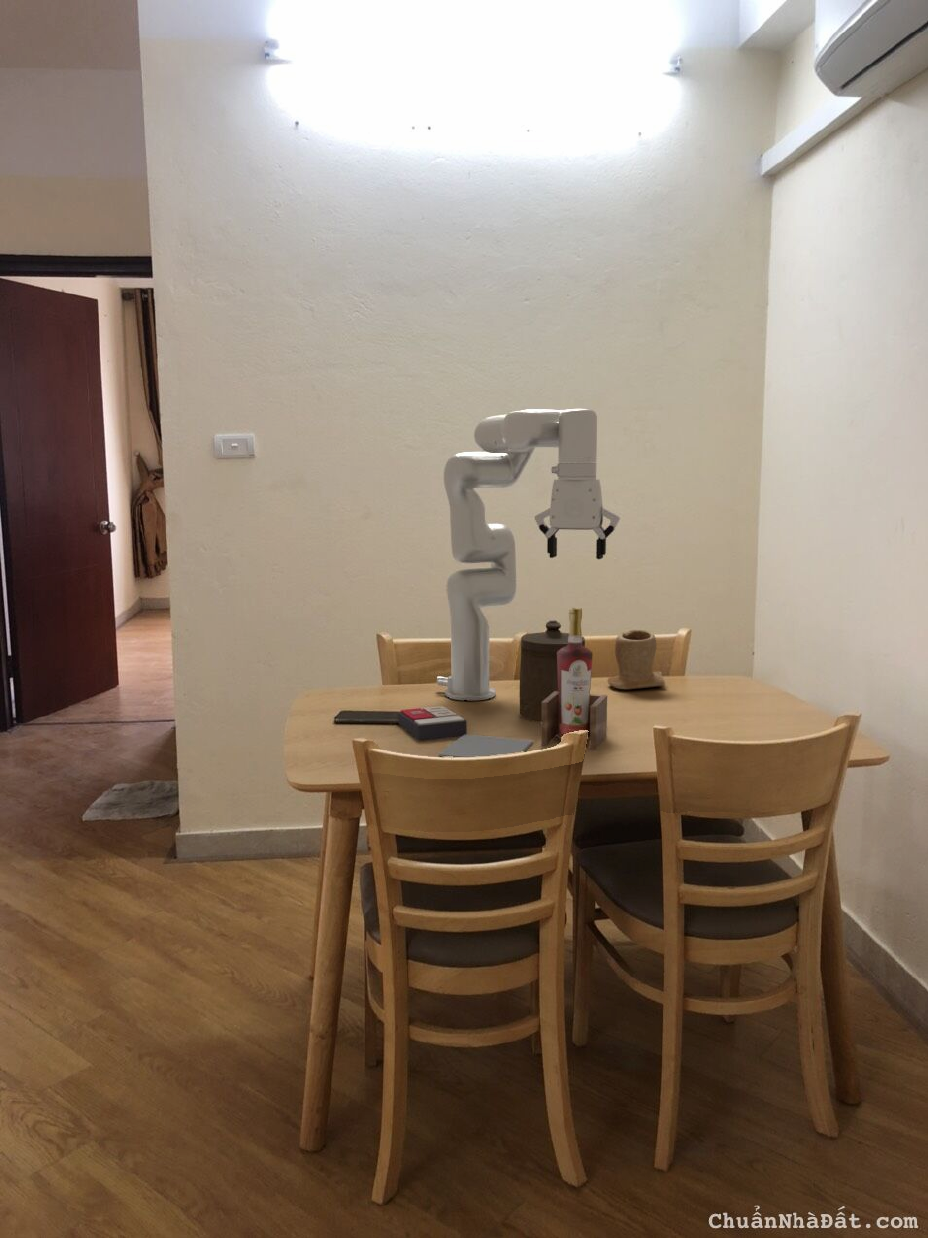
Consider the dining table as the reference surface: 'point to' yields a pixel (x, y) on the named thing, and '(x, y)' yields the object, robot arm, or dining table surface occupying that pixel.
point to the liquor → (574, 679)
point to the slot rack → (595, 723)
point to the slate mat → (484, 746)
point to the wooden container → (540, 668)
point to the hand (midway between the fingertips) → (576, 557)
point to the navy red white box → (432, 723)
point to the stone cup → (636, 661)
